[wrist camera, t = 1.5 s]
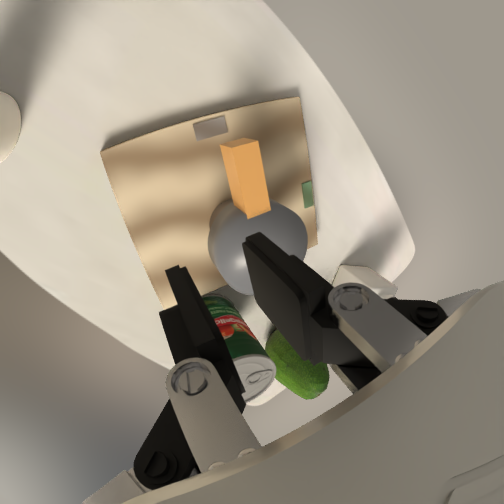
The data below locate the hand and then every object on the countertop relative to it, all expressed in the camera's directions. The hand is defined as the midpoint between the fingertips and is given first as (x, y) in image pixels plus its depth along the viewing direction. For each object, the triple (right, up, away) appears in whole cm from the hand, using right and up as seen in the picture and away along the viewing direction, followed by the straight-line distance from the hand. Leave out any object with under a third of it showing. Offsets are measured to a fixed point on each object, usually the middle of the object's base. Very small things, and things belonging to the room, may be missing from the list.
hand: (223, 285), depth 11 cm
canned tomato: (-5, -7, +25) cm, 27 cm away
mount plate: (-2, +7, +19) cm, 21 cm away
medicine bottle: (+16, -4, +35) cm, 38 cm away
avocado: (+5, -11, +33) cm, 35 cm away
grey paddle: (0, +5, +15) cm, 15 cm away
